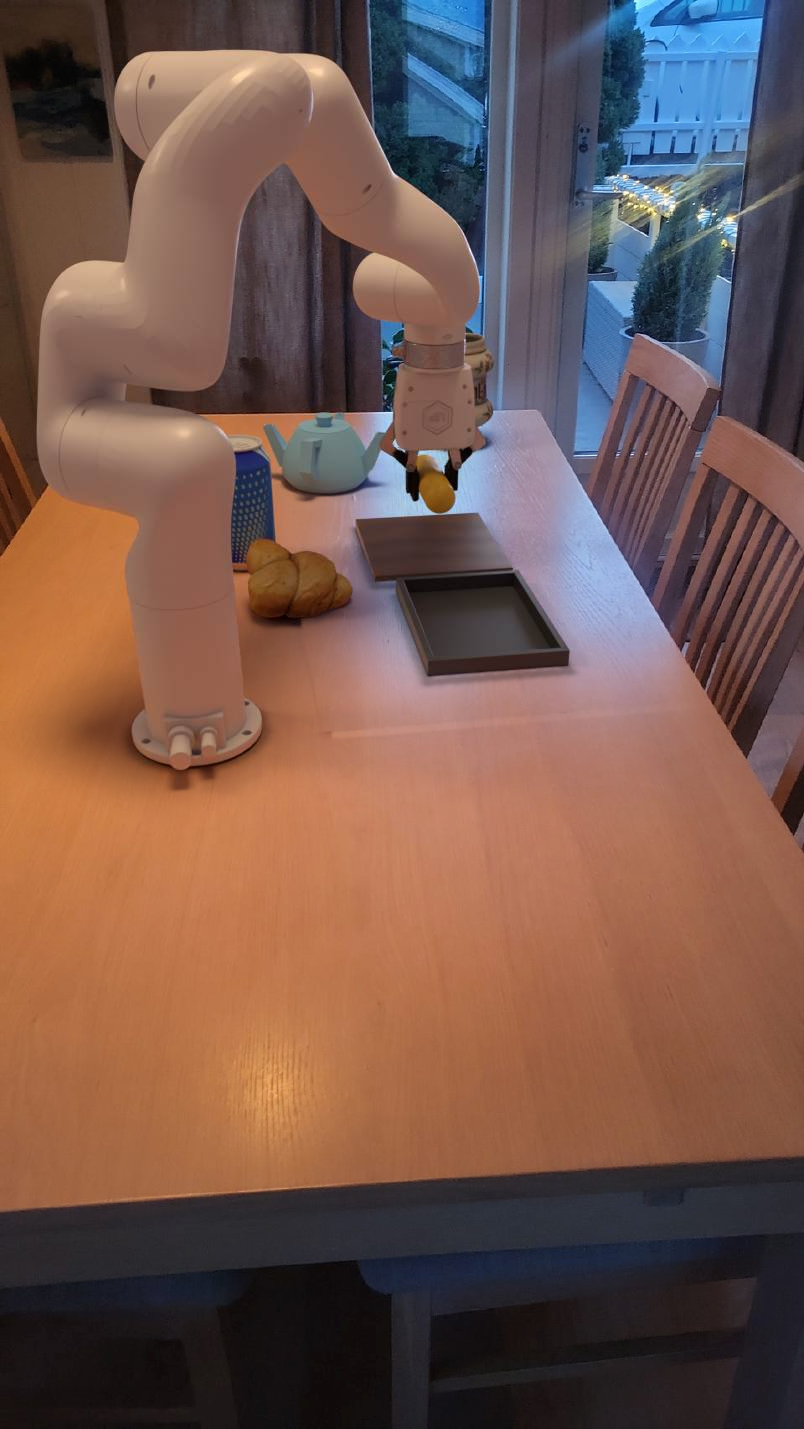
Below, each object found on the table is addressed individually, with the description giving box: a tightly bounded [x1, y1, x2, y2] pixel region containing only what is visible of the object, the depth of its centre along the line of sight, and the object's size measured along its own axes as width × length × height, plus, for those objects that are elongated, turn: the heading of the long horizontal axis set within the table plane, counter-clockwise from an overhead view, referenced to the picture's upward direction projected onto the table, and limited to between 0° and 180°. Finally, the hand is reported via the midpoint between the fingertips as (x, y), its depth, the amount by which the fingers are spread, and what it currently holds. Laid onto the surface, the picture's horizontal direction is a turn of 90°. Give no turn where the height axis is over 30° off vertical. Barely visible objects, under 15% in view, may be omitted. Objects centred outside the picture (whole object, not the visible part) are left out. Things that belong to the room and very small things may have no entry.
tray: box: [395, 569, 571, 677], centre depth 119 cm, size 22×16×3 cm
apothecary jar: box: [465, 332, 495, 428], centre depth 177 cm, size 12×12×18 cm
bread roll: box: [246, 538, 353, 619], centre depth 123 cm, size 13×10×8 cm
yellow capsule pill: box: [416, 454, 457, 515], centre depth 135 cm, size 15×4×4 cm, turn 9°
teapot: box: [262, 412, 386, 495], centre depth 162 cm, size 15×15×11 cm
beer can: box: [226, 434, 277, 571], centre depth 133 cm, size 8×8×16 cm
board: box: [354, 512, 514, 582], centre depth 140 cm, size 20×18×2 cm
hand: (431, 495), depth 136 cm, fingers closed on yellow capsule pill, 4 cm apart
